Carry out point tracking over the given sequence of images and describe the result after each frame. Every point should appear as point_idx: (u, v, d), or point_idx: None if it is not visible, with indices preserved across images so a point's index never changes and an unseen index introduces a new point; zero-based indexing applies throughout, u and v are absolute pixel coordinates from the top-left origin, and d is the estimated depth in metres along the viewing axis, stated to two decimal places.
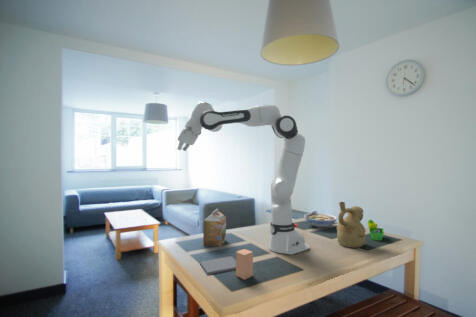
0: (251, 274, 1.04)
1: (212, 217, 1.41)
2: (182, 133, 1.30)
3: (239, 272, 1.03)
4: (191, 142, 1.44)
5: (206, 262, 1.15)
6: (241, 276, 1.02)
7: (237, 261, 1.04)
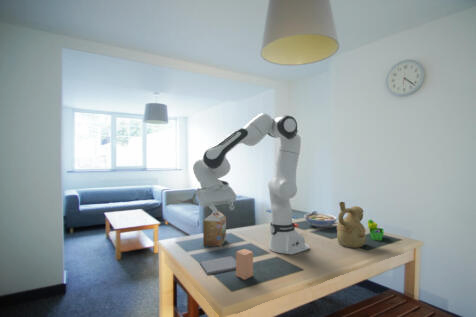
0: (251, 274, 1.04)
1: (212, 217, 1.41)
2: (198, 198, 1.11)
3: (239, 272, 1.03)
4: (227, 196, 1.19)
5: (206, 262, 1.15)
6: (241, 276, 1.02)
7: (237, 261, 1.04)
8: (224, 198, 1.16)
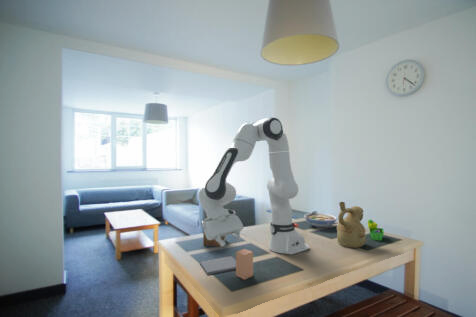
0: (251, 274, 1.04)
1: None
2: (204, 230, 1.08)
3: (239, 272, 1.03)
4: (234, 227, 1.15)
5: (206, 262, 1.15)
6: (241, 276, 1.02)
7: (237, 261, 1.04)
8: (231, 229, 1.13)
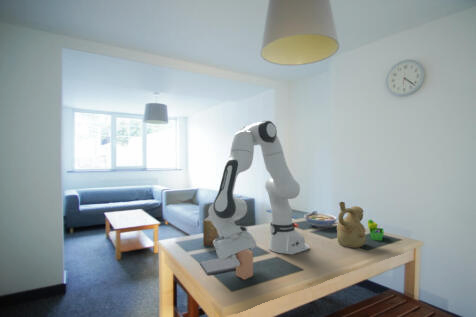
0: (251, 274, 1.04)
1: None
2: (217, 250, 1.02)
3: (239, 272, 1.03)
4: (247, 245, 1.09)
5: (206, 262, 1.15)
6: (241, 276, 1.02)
7: None
8: (244, 248, 1.07)
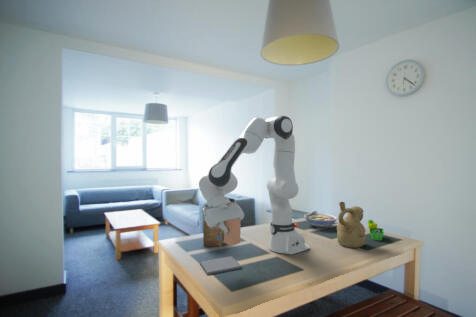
0: (238, 241, 1.08)
1: None
2: (205, 218, 1.06)
3: (227, 239, 1.07)
4: (235, 215, 1.13)
5: (206, 262, 1.15)
6: (229, 242, 1.06)
7: None
8: (232, 217, 1.11)
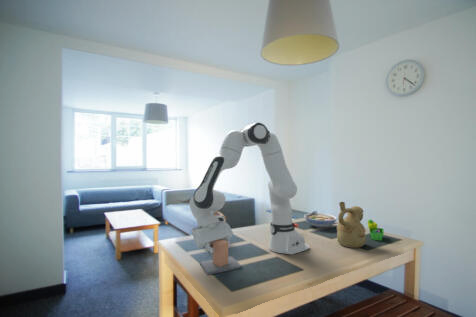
0: (226, 262, 1.13)
1: None
2: (194, 238, 1.11)
3: (216, 260, 1.12)
4: (223, 234, 1.19)
5: (206, 262, 1.15)
6: (217, 264, 1.11)
7: None
8: (220, 236, 1.16)
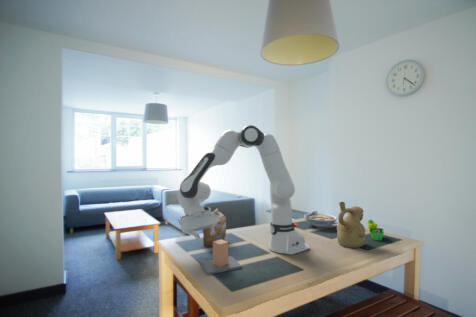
0: (226, 262, 1.13)
1: None
2: (181, 225, 1.21)
3: (216, 260, 1.12)
4: (209, 222, 1.28)
5: (206, 262, 1.15)
6: (217, 264, 1.11)
7: (214, 250, 1.13)
8: (205, 224, 1.26)
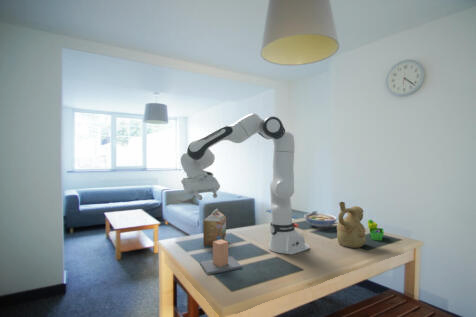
0: (226, 262, 1.13)
1: (212, 217, 1.41)
2: (184, 186, 1.22)
3: (216, 260, 1.12)
4: (211, 185, 1.30)
5: (206, 262, 1.15)
6: (217, 264, 1.11)
7: (214, 250, 1.13)
8: (208, 187, 1.27)
